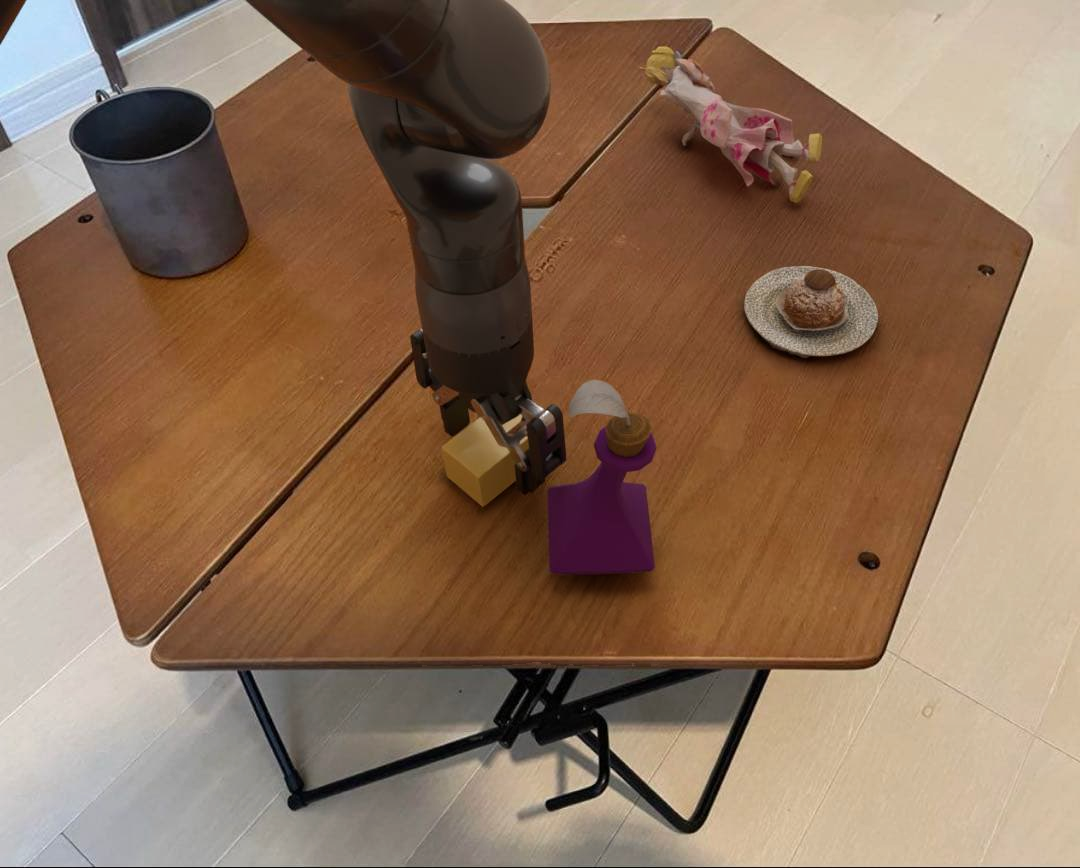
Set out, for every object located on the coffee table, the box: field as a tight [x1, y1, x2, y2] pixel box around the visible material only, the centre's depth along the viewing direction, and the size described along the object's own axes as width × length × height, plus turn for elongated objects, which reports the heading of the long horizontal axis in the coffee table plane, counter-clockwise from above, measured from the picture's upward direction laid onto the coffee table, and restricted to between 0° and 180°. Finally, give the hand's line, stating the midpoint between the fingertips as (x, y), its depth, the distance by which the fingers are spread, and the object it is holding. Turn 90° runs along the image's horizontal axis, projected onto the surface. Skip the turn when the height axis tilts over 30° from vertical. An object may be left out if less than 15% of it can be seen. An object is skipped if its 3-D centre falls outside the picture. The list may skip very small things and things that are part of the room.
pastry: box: [743, 265, 879, 359], centre depth 82 cm, size 12×12×5 cm
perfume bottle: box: [546, 379, 657, 576], centre depth 62 cm, size 8×8×18 cm
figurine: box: [638, 46, 823, 204], centre depth 96 cm, size 12×12×25 cm
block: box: [440, 414, 529, 508], centre depth 73 cm, size 7×4×4 cm, turn 135°
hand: (493, 457), depth 73 cm, fingers open, 8 cm apart
